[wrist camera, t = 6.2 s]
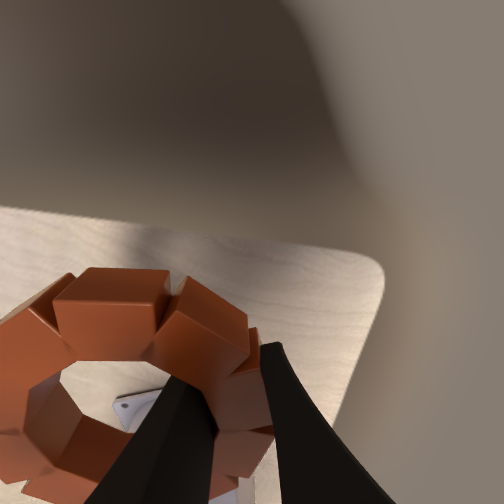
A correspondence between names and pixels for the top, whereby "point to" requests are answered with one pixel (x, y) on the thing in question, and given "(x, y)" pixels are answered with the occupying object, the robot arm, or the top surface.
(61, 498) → the ring
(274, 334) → the top surface
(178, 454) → the robot arm
